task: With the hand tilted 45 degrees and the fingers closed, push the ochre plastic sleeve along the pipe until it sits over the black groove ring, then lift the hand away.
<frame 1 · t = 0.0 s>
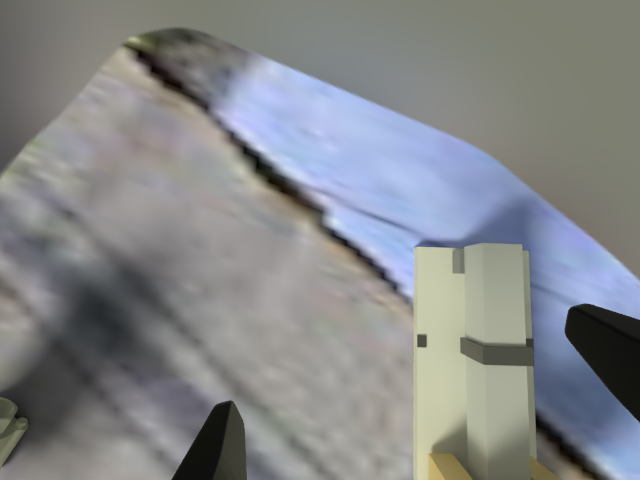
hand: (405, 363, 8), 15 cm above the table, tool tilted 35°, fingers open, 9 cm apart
pipe stand: (470, 399, 23), on the table
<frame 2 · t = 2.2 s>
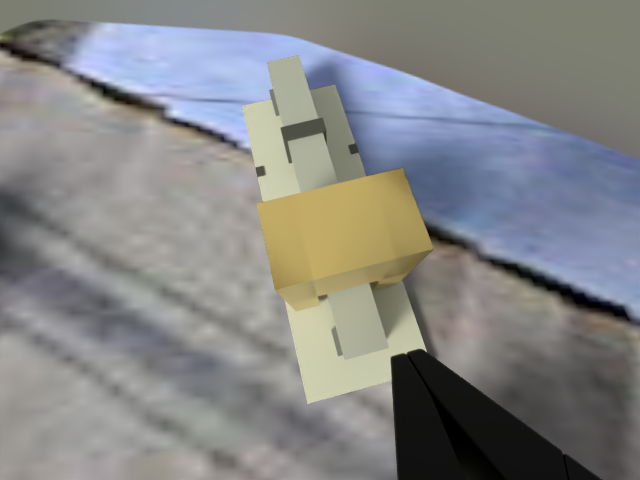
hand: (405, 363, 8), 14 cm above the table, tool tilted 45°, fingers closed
pipe stand: (320, 210, 25), on the table
sleeve: (339, 252, 18), point 5 cm above the table, slide at 0.0 cm
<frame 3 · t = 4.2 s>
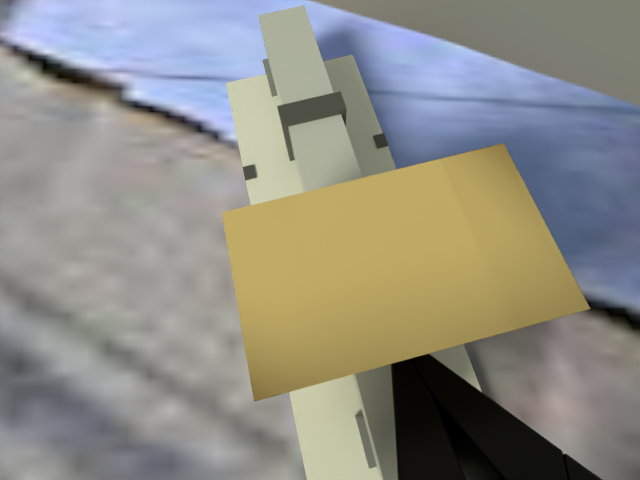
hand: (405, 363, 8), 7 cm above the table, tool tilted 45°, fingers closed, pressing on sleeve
pipe stand: (334, 227, 17), on the table
sleeve: (371, 290, 11), point 5 cm above the table, slide at 0.6 cm, touching gripper
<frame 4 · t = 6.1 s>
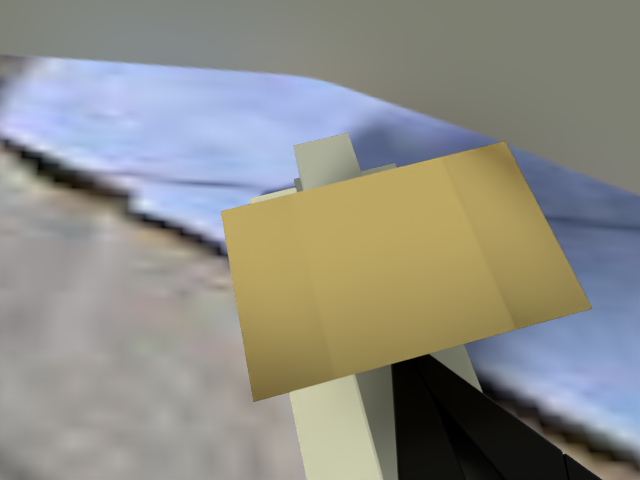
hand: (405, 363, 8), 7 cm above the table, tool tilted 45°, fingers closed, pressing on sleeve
pipe stand: (381, 388, 15), on the table
sleeve: (371, 289, 11), point 5 cm above the table, slide at 8.7 cm, touching gripper
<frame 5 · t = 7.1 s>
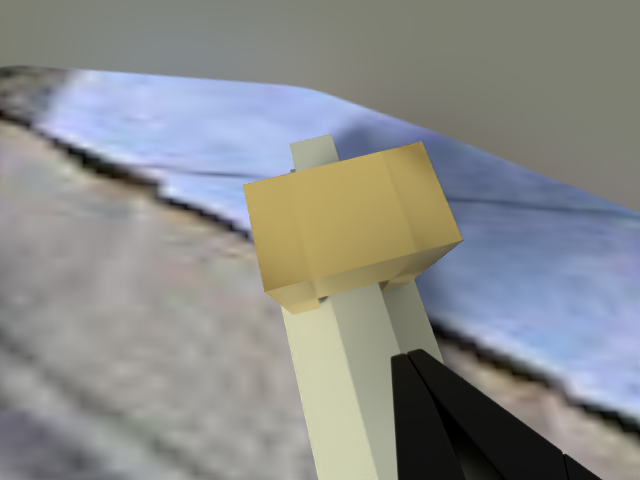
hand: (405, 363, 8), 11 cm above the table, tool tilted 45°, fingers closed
pipe stand: (357, 330, 19), on the table
sleeve: (344, 246, 15), point 5 cm above the table, slide at 8.7 cm
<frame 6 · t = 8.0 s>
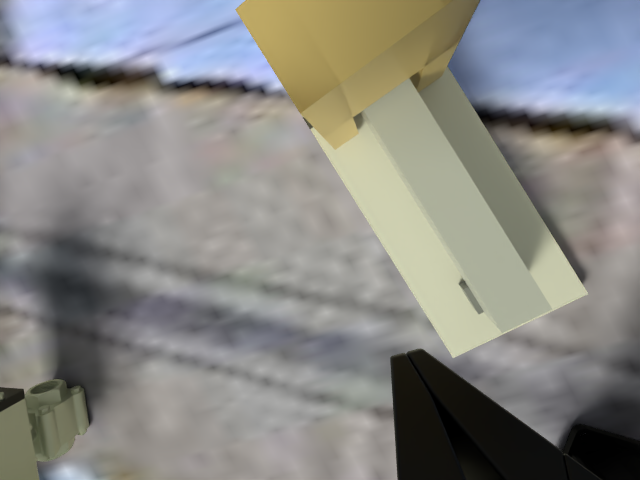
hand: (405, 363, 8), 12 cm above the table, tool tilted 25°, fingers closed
pneumatic valve: (69, 403, 27), on the table
pipe stand: (401, 143, 19), on the table
sleeve: (363, 50, 14), point 5 cm above the table, slide at 8.7 cm
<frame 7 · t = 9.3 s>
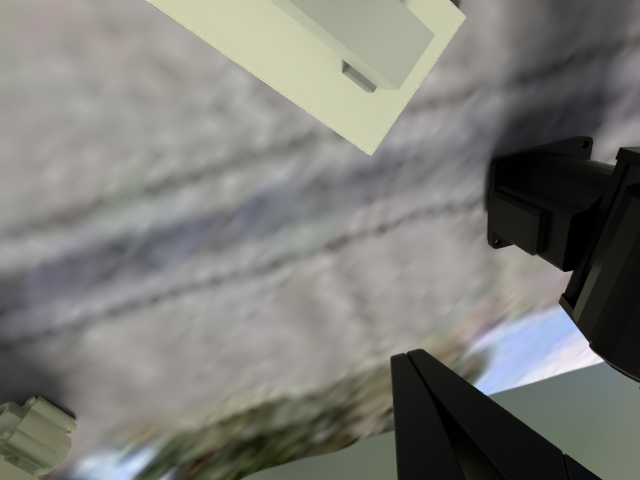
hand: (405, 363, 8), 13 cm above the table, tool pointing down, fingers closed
pneumatic valve: (38, 415, 24), on the table
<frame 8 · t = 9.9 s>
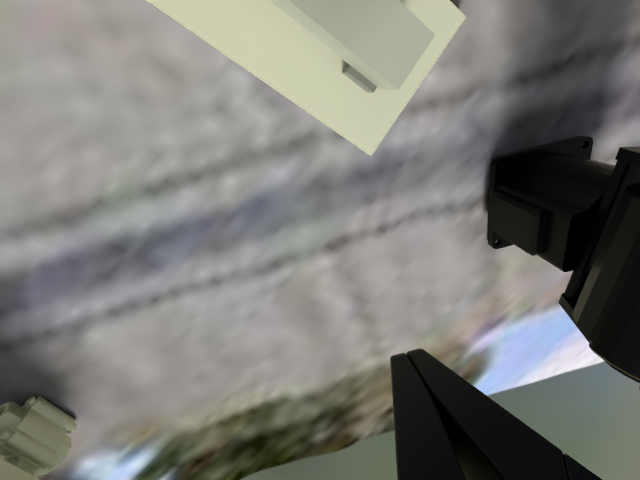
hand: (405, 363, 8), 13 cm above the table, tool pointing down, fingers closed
pneumatic valve: (38, 415, 24), on the table
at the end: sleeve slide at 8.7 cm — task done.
